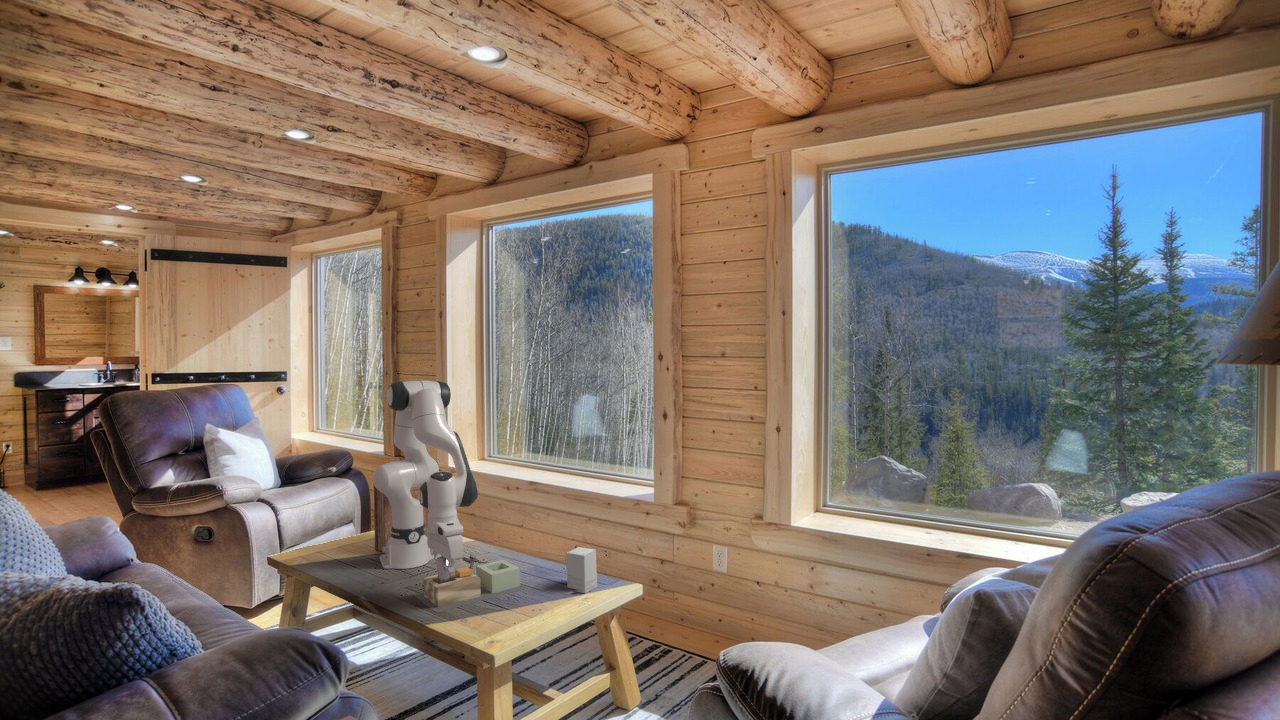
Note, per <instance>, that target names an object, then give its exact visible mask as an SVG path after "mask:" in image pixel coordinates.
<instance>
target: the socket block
mask: <svg viewBox="0 0 1280 720" xmlns="http://www.w3.org/2000/svg"><path fill="white" fill-rule="evenodd" d="M423 593H424V597H425V598H427V599H428V600H429V601H430V602H432V603H433V604H434V605H436V606H437V607H442V606H446V605H450V604H453V603H457V602H461V601H465V600H469V599H473V598H477V597H480V596H481V584H480V577H478V576H477V575H476V574H474V573H473V572H472V575H468V576H465V577H459V576H458V575H456V574H455V570H454V571H453V572H451V581H450V582H446V583H442V584H438V574H434V575H430V576H426V577H423Z"/></svg>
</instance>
